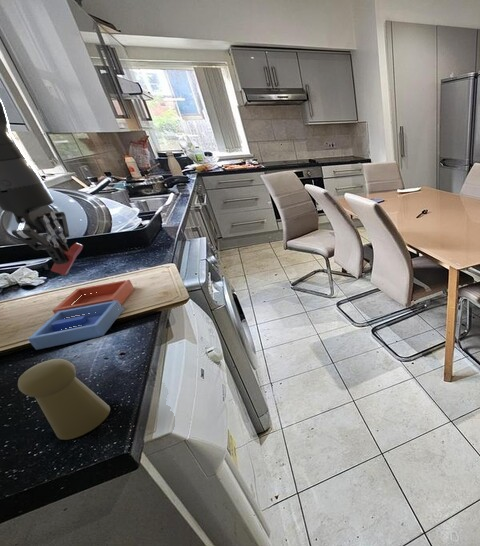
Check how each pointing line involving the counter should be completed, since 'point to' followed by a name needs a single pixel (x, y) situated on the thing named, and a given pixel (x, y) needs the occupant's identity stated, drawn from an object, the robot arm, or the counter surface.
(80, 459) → the counter surface
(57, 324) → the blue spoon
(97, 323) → the blue bin
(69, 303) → the red bin
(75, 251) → the red block
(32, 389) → the cork
